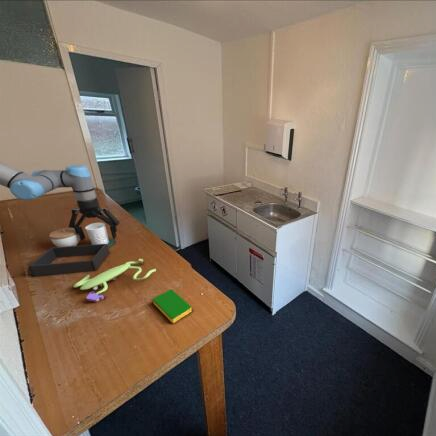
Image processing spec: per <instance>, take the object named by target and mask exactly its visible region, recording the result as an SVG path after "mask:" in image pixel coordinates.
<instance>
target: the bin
mask: <svg viewBox="0 0 436 436" xmlns="http://www.w3.org/2000/svg"><path fill="white" fill-rule="evenodd" d="M110 253H111V252H110V248H109V247H108V245H107V244H94V245H88V244H83V245H76V246H66V247H57V246H54V247H53V246H52V247H49V249H48V250H46V251H45V252H44V253H43V254H42V255H40V256H39V257H38V258H36V260H34V261H33V262H32V263H30V264H29V265H27V268H28V269H29V272H30V274H31V275H32V277H43V276H53V275H64V274H74V273H75V274H76V273H84V272H94V271H97V270H98V268H99V266H101V264H102V263H103V262H104V260H105V259H106V258H107V257H108V255H109V254H110ZM91 255H94V256H93V257H92V258H91V259H90V260H88V259H87V260H76V261H68V262H67V261H66V262H55V263H52V262H53V261H54V260H55V259H56V258H67V257H80V256H91Z"/></svg>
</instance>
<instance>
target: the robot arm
mask: <svg viewBox="0 0 436 436" xmlns="http://www.w3.org/2000/svg"><path fill="white" fill-rule="evenodd" d="M93 183H94V182H93V179H92V175H91V173H90V170H89V168H88V166H87V165H84V164H72V165H71V164H70V165H67V166H66V167H65V169H64V170H62V169H61V170H59V169H58V170H55V169H53V170H52V169H42V170H41V169H40V170H39V169H38V170H34V171H33V172H32V173H31V174H28V173H26V172H24V171H21V170H20V169H17V168H15V167H14V166H13V167H12V166H10V165H8V164H6V163H4V162H2V161H0V186H3V187H5V188H7V189H9V190H10V193H11V195H13V196H14V197H15V198H17V199H19V200H23V201H32V200H35V199H38V198H41V197H42V196H43V195H45V194H47V193H50V192H52V191H54V190H56V189H58V188H59V189H60V188H71V189H72V191H73V195H74V198H75V200H76V203H77V207H74V208H73V209H71V217H70V220H69V223H68V227H69V228H74V229H75V231H76V234H79V237H80V242H84V240H85V239H86V235H85V233H84V229H83V227H82V226H81V225H82V223H83V222H84V221H85V219H86V218H87V219H91V218H93V219H95V218H97V219H98V220H101V221H103V223H105V224H106V225H108V226H110V227H109V231H110V234H111V237H112V239H113V240H115V239H116V238H117V237H118V236H117V231H118V228H117V226H118V225H119V224H120V223H121V222H120V221H119V220H118V219H117V217H115V216H114V214H113V213H112V212H111V210H110V209H109V208H108V207H107V206H105V207H102V208H101V207H100V203H99V200H98V197H97V192H96V190H95V189H96V188H95V187H94V184H93ZM79 213H80V214H81V216H80V218H79V219H78V221H77V218H78V216H79V215H78V214H79Z"/></svg>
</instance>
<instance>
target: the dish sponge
mask: <svg viewBox="0 0 436 436" xmlns="http://www.w3.org/2000/svg"><path fill="white" fill-rule="evenodd" d="M152 303H153V305H154V306H155V307H156V308H157V309H158V310H159V311H160V312H161V313H162V315H164V317H166V319H168V320H169V322H170V323H171V324H175V323H177V322H178V321H179V320H182V318H184V317H186V316H188V314H190V313H192V306H191V304H189V303H188V302H187V301H186V300H185V299H184V298H182V296H181V295H179V294H178V293H177V292H176V291H174V290H173V289H168V290H167V291H165V292H163V293H161V294H159V295H157V296H155V297H153V298H152Z"/></svg>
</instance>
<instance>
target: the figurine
mask: <svg viewBox="0 0 436 436" xmlns="http://www.w3.org/2000/svg"><path fill="white" fill-rule="evenodd" d="M139 263H144V259H143V258H138V259H137V260H136V261H127V262H125V263H123V264H120V265H117V266H114V267H112V268H109V269H107V270H105V271H103V272H101V273H99V274H97V275H96V276H94V277H91V275H90V274H87V275H86V276H84V278H82V279H80V280H79V281H78V282H76V283H74V284H73V288H74V289H75V288H78V287H80V288H79V290H80V291H85V290H89V289H92V290H91V292H89V293H88V295H87V296H86V300H87V301H88V302H95V303H97V302H99V301H100V300H104V299H105V297H104V295H103V294H102V293H104V292H106V291H107V290H108V288H109V286H108V283H107V282H110V281H111V280H114V279H116V278H117V277H118V276H120V275H122V274H123V273H124V272H126V271H127V270H137V271H136V272H135V274H133V276H132V280H133V281H141V280H146V279H148V277H150V275H152V273H155V272H157V268H153V269H151V270H149V271H148V272H146V274H145V275H144V276H143V277H140V278H139V277H138V276H139V275H140V274H141V273H142V271H143V269H142V268H141V266H136V265H138V264H139ZM137 277H138V278H137ZM99 287H100V288H102V289H101V290H99V291H97V290H98V289H99ZM95 291H96V292H95Z"/></svg>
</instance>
